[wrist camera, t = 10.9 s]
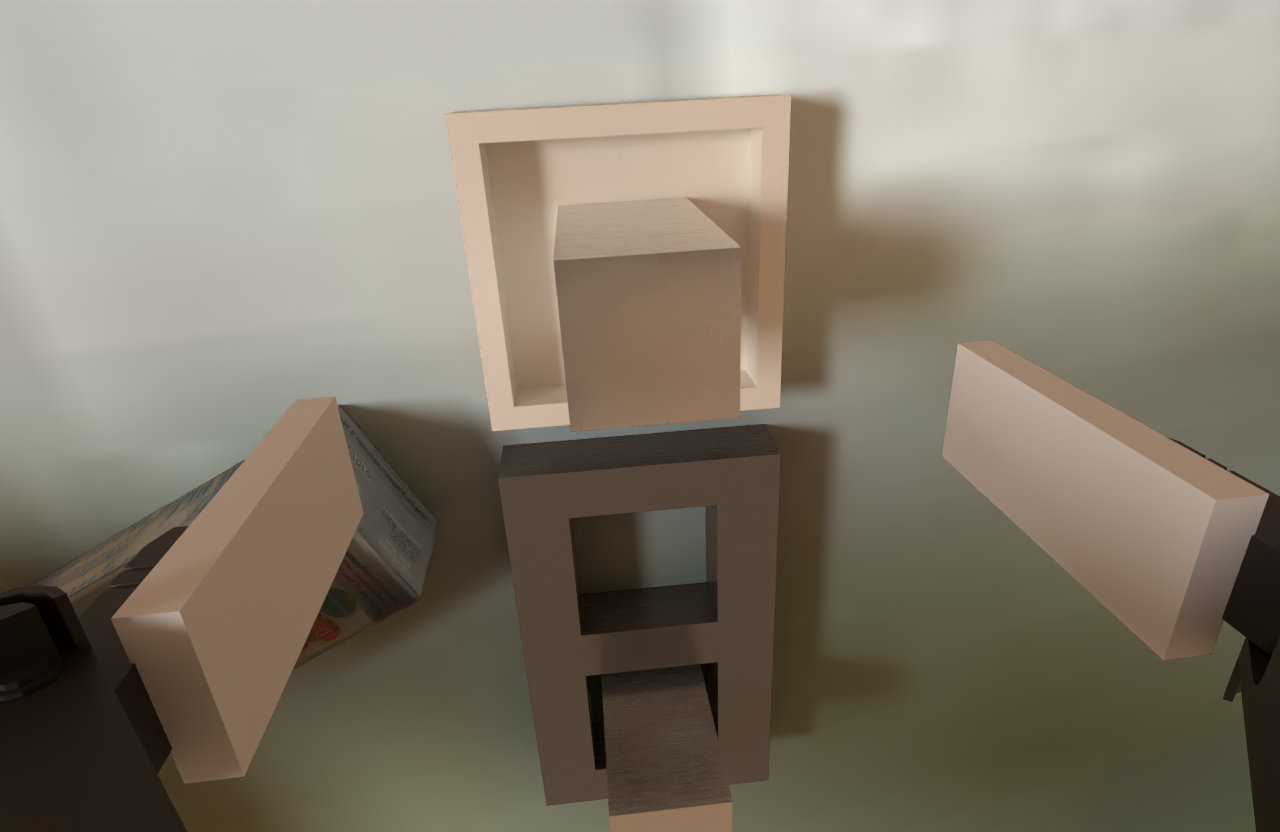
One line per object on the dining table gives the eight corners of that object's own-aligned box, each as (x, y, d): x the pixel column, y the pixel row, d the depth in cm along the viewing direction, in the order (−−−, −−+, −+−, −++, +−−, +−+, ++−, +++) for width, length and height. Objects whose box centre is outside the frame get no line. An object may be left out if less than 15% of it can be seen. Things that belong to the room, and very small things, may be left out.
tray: (497, 405, 32) (492, 431, 29) (455, 111, 27) (444, 113, 24) (764, 384, 32) (779, 407, 30) (771, 94, 27) (791, 95, 25)
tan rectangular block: (569, 328, 30) (570, 431, 21) (558, 205, 28) (553, 260, 19) (688, 319, 30) (740, 417, 21) (685, 197, 28) (741, 247, 19)
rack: (548, 758, 41) (546, 805, 38) (503, 446, 33) (497, 478, 30) (755, 734, 42) (768, 780, 39) (763, 424, 33) (780, 453, 31)
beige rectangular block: (605, 712, 40) (616, 895, 31) (599, 642, 38) (609, 816, 29) (694, 702, 40) (731, 880, 31) (693, 632, 38) (732, 802, 29)
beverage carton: (451, 525, 34) (426, 617, 28) (141, 696, 37) (58, 814, 31) (342, 395, 31) (289, 468, 25) (10, 592, 34) (-110, 701, 28)
